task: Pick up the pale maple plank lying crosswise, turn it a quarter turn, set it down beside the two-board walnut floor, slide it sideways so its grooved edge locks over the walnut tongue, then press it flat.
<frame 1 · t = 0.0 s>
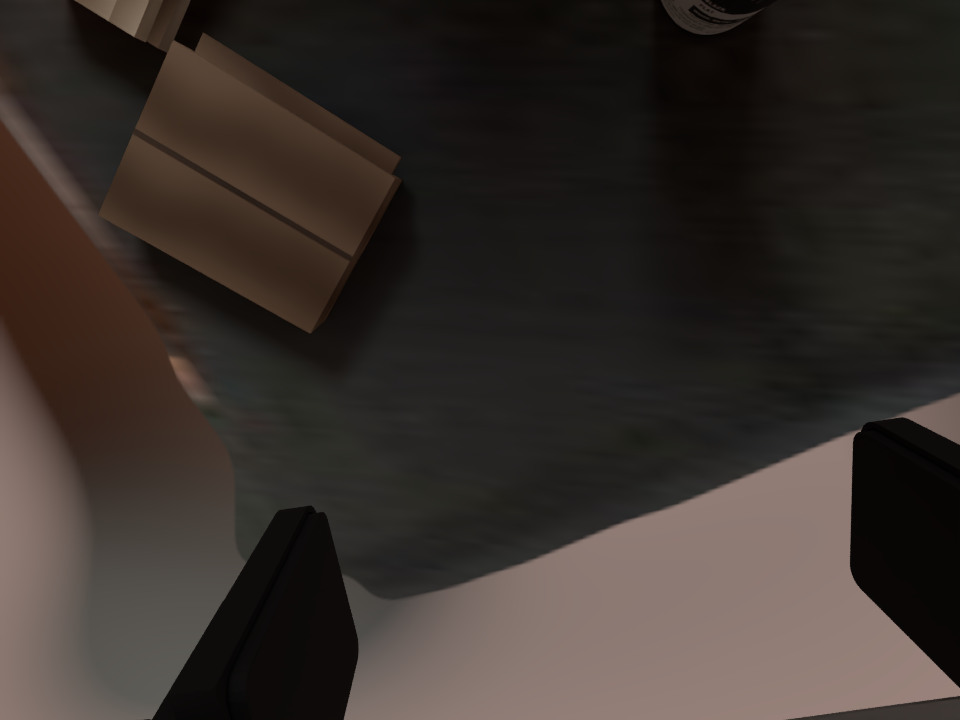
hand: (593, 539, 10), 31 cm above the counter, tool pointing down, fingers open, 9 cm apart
walnut floor: (268, 196, 38), on the counter
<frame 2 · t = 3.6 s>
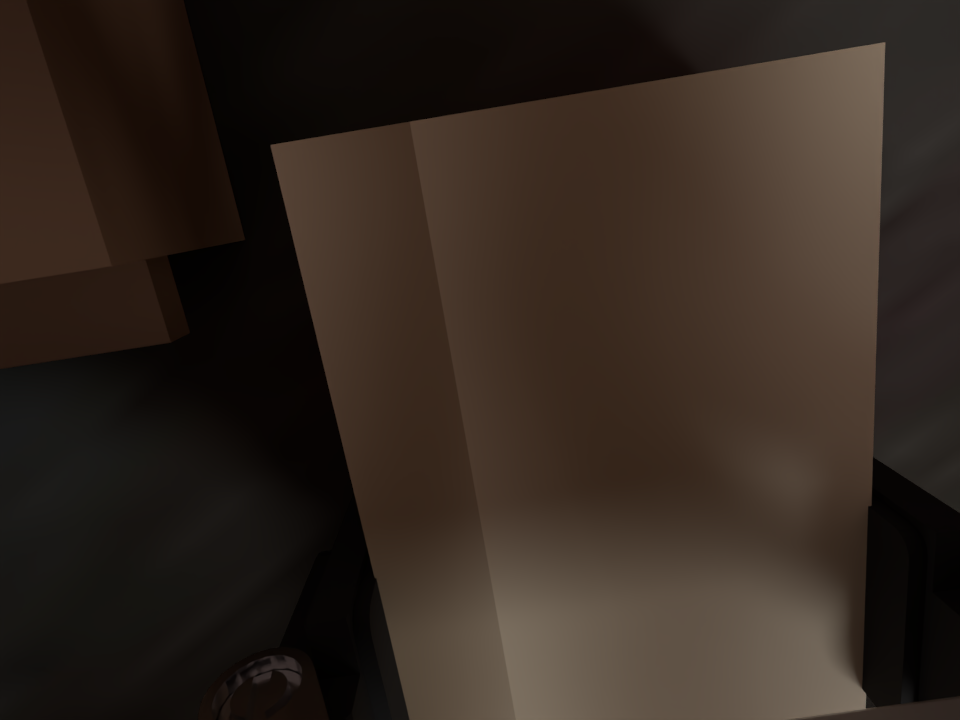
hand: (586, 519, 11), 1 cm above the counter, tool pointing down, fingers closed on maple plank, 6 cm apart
maple plank: (614, 491, 12), on the counter, touching gripper
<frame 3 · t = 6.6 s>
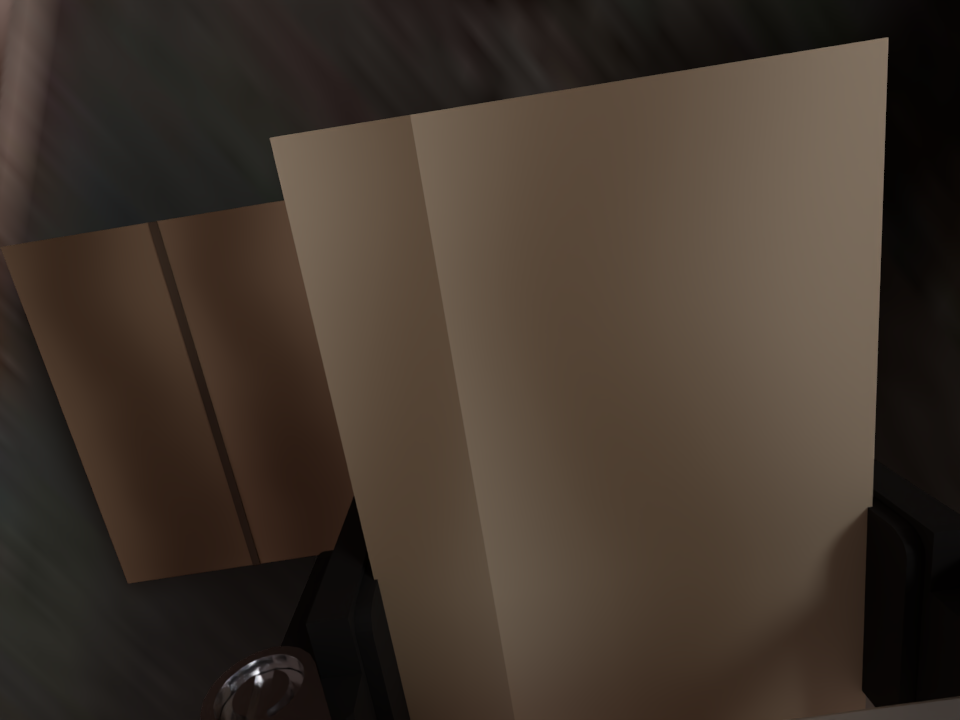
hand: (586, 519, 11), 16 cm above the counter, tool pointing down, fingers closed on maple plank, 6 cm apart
walnut floor: (247, 376, 26), on the counter
maple plank: (613, 489, 12), point 15 cm above the counter, touching gripper
when the fingers open (2 cm above the counter, at t = 9.7 s): maple plank drops 1 cm, on the counter.
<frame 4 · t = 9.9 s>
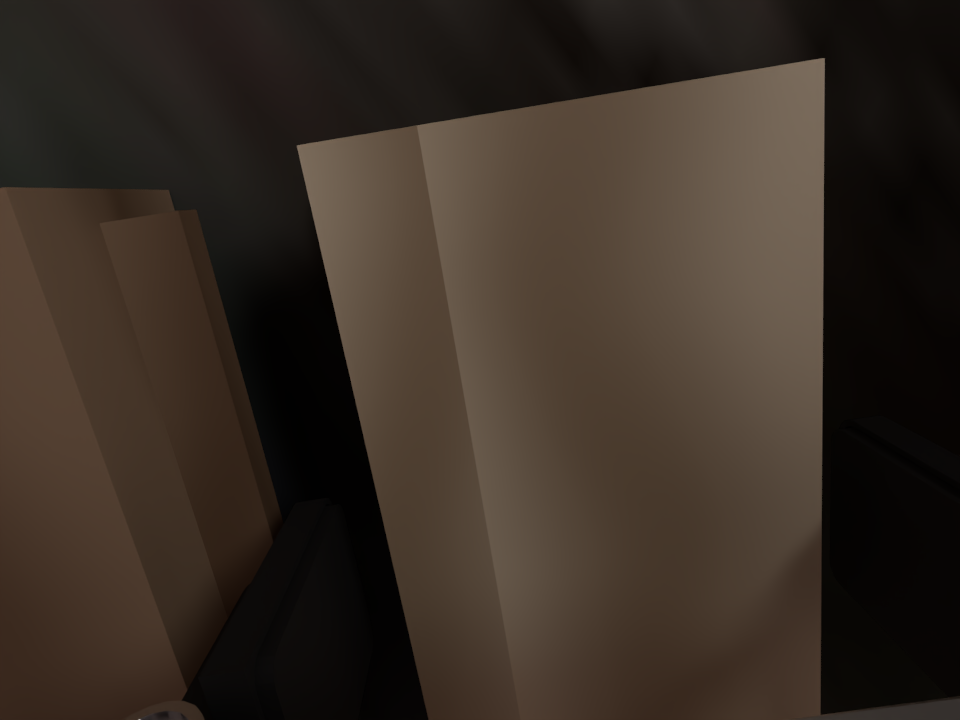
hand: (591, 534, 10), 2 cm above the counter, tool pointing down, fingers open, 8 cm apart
walnut floor: (19, 555, 13), on the counter
maple plank: (601, 463, 13), on the counter
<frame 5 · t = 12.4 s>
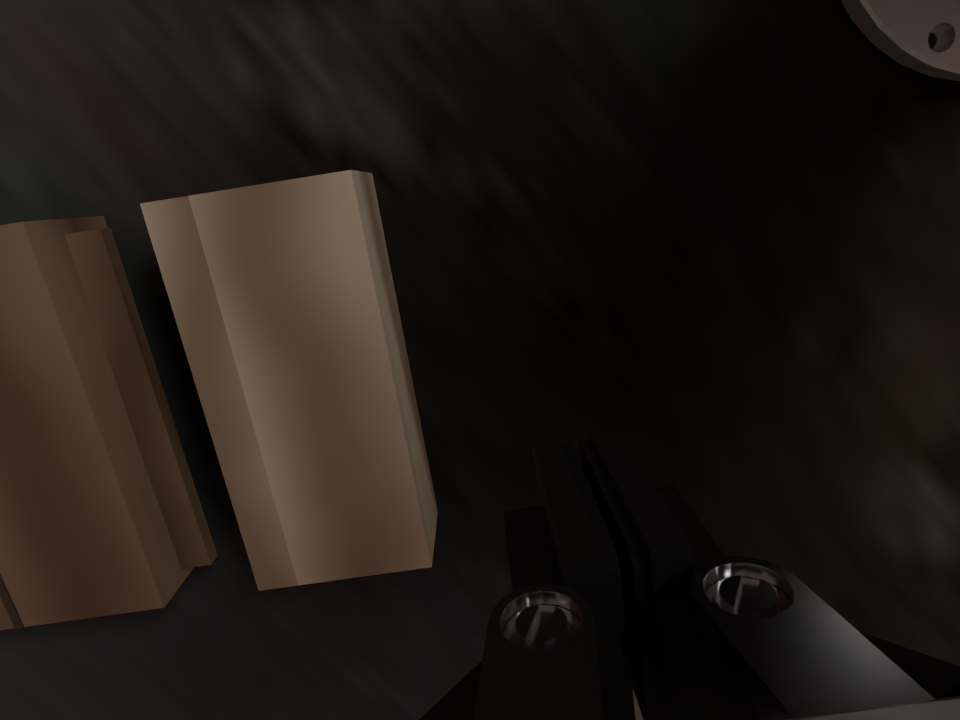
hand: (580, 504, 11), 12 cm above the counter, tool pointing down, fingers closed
walnut floor: (29, 413, 23), on the counter
maple plank: (346, 364, 23), on the counter
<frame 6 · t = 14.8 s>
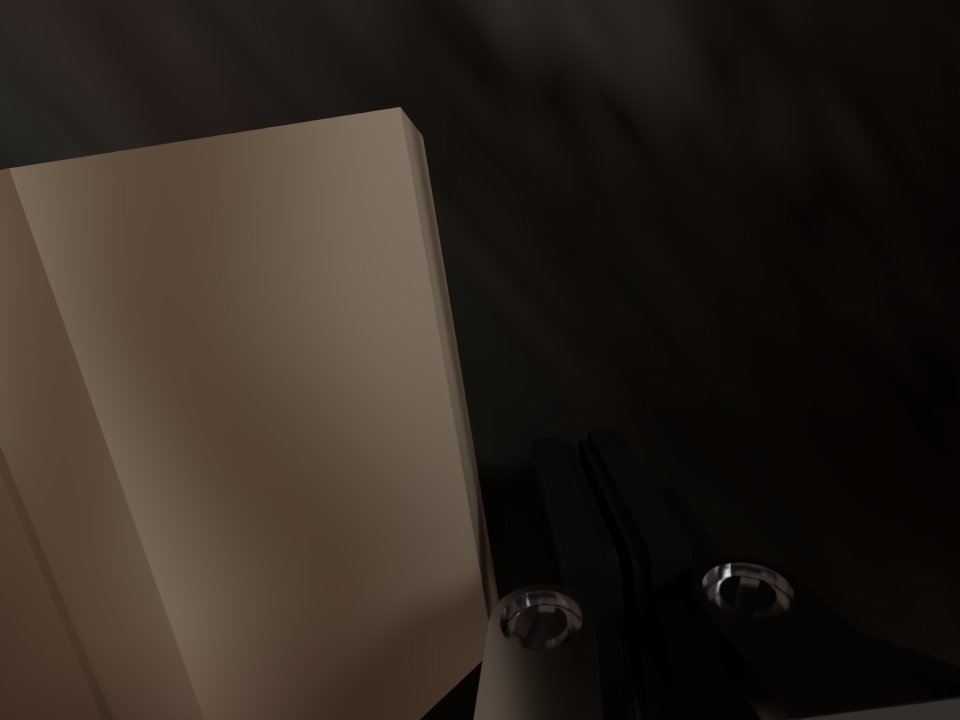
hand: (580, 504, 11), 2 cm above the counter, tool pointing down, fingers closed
maple plank: (367, 483, 13), on the counter, touching gripper, walnut floor
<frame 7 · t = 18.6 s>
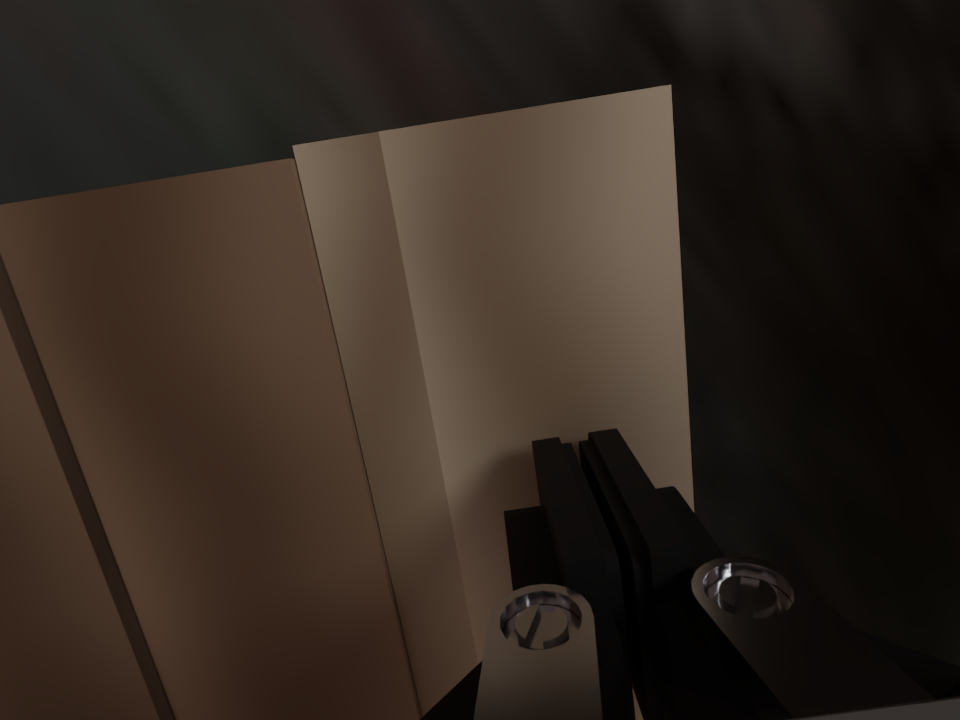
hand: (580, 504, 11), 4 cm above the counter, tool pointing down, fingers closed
walnut floor: (196, 469, 16), on the counter
maple plank: (544, 407, 16), on the counter
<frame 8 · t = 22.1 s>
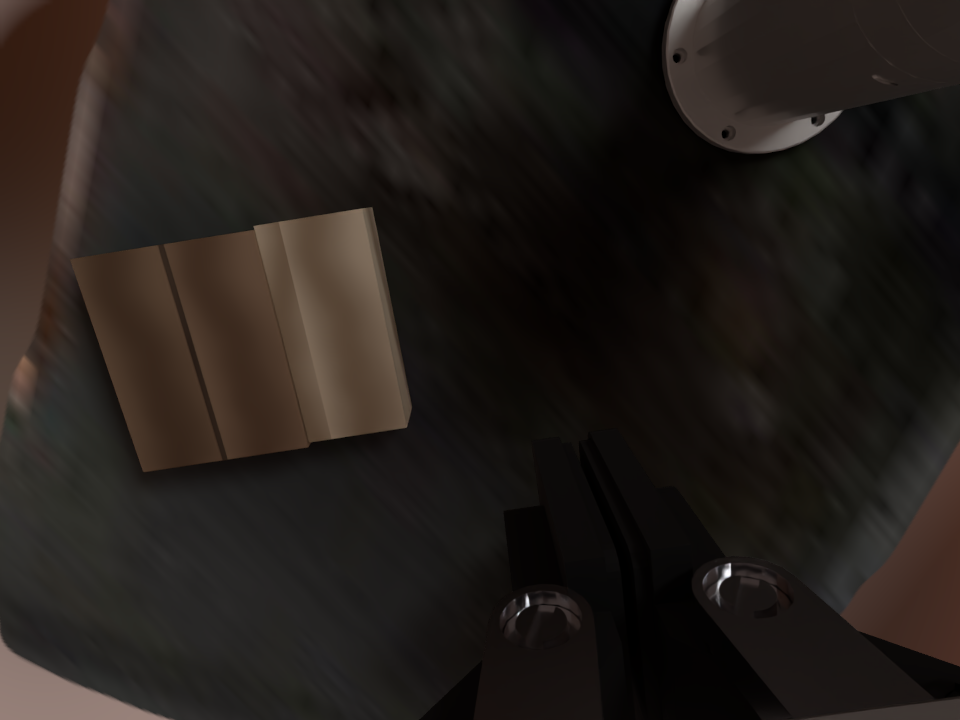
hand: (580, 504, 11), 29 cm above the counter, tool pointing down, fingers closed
walnut floor: (221, 342, 40), on the counter
maple plank: (357, 317, 40), on the counter
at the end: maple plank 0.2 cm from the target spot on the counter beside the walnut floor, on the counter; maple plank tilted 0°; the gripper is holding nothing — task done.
